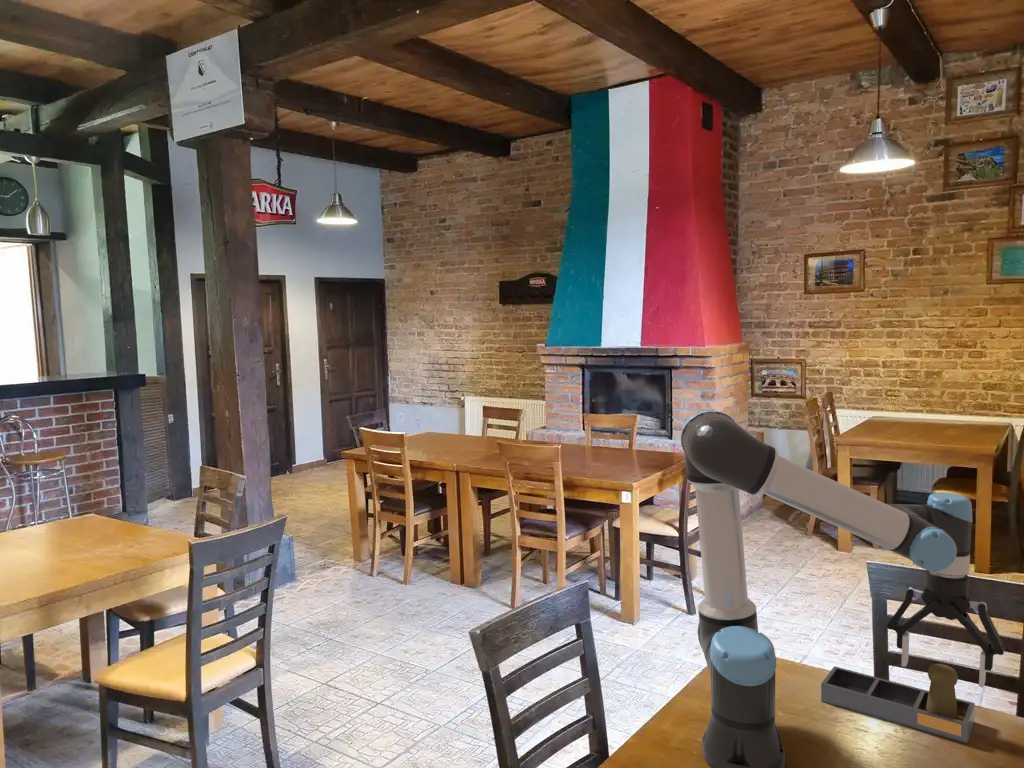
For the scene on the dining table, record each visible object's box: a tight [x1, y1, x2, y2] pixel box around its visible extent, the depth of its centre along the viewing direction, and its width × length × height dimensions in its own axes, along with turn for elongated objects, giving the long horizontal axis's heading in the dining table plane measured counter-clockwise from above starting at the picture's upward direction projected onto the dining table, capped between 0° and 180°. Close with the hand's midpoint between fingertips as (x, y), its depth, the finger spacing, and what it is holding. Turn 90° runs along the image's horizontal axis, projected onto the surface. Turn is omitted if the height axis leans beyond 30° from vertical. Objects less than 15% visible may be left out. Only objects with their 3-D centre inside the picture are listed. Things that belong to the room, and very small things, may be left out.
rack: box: [820, 666, 976, 745], centre depth 155 cm, size 27×10×4 cm, turn 51°
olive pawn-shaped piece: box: [925, 663, 959, 720], centre depth 149 cm, size 6×6×11 cm
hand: (942, 674), depth 149 cm, fingers open, 13 cm apart
